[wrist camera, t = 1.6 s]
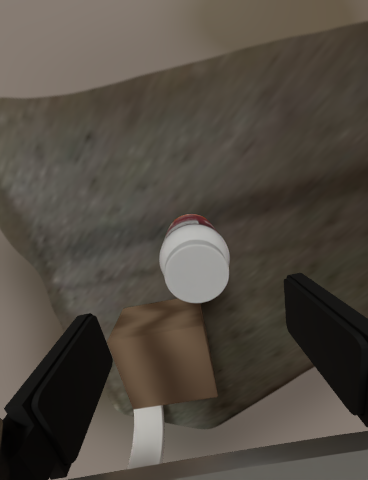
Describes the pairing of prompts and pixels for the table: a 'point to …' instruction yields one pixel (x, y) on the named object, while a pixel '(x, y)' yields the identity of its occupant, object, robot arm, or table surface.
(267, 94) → the table surface
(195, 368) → the walnut block
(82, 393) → the robot arm
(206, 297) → the pill bottle
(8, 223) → the table surface
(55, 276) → the table surface
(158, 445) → the headphone stand
